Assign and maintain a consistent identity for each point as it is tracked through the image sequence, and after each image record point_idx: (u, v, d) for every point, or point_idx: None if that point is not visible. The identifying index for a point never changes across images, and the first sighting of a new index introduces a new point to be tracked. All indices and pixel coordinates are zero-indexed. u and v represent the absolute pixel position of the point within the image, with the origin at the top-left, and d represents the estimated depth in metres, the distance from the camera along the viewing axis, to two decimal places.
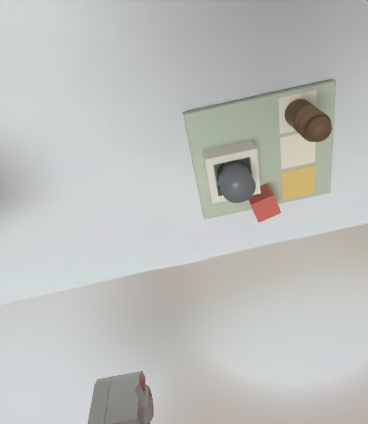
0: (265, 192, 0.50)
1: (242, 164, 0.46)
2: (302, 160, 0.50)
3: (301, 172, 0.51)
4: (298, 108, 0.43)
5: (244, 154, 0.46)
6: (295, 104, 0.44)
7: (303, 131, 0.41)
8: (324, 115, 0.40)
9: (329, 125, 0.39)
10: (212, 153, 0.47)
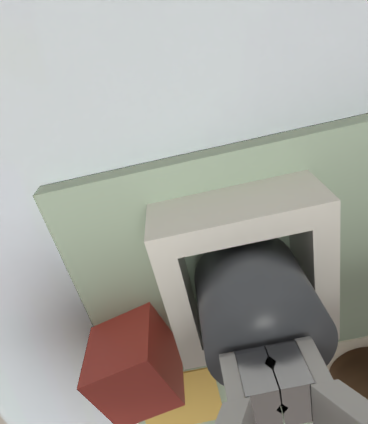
0: (175, 368, 0.17)
1: None
2: None
3: (208, 401, 0.21)
4: None
5: (329, 312, 0.14)
6: None
7: None
8: None
9: None
10: None
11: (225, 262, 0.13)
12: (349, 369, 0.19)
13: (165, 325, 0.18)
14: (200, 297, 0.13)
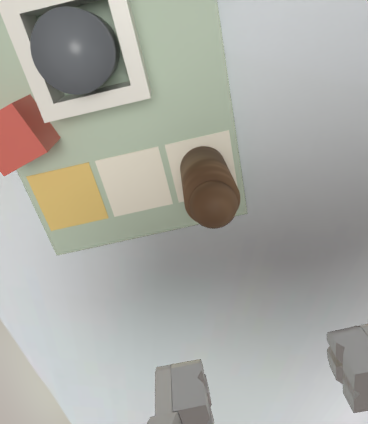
0: (45, 135, 0.23)
1: (115, 66, 0.22)
2: (115, 195, 0.28)
3: (91, 198, 0.28)
4: (226, 165, 0.24)
5: (136, 70, 0.21)
6: (223, 160, 0.26)
7: (206, 179, 0.21)
8: None
9: (227, 222, 0.21)
10: None
11: None
12: (187, 157, 0.26)
13: None
14: None
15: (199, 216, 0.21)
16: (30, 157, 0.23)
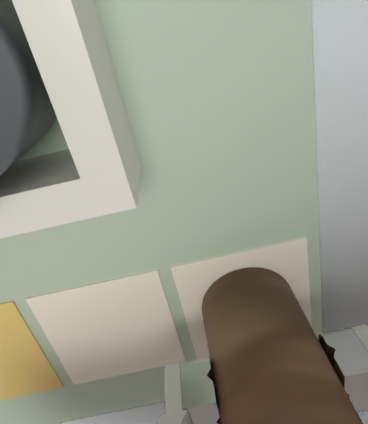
0: None
1: (44, 120, 0.08)
2: (73, 352, 0.14)
3: (26, 359, 0.14)
4: (315, 336, 0.11)
5: (93, 140, 0.07)
6: (299, 305, 0.12)
7: None
8: None
9: None
10: None
11: None
12: (220, 298, 0.12)
13: None
14: None
15: None
16: None
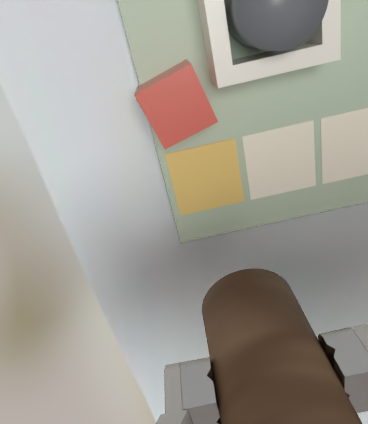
0: None
1: None
2: (257, 175, 0.25)
3: (230, 179, 0.25)
4: (316, 338, 0.11)
5: (332, 26, 0.18)
6: (299, 306, 0.12)
7: None
8: None
9: None
10: None
11: None
12: (220, 299, 0.12)
13: None
14: None
15: None
16: (198, 127, 0.20)
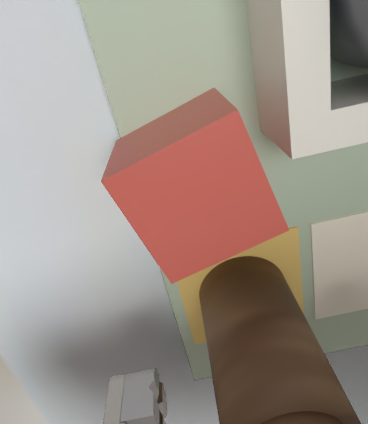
0: None
1: None
2: (330, 283, 0.14)
3: None
4: (305, 318, 0.11)
5: None
6: (291, 291, 0.13)
7: (286, 410, 0.08)
8: None
9: None
10: None
11: None
12: (216, 284, 0.13)
13: None
14: None
15: None
16: (245, 242, 0.09)
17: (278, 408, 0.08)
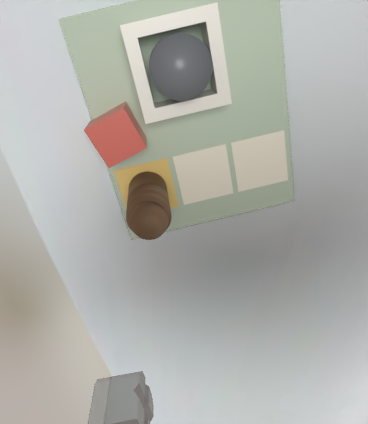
0: (141, 134, 0.28)
1: None
2: (186, 186, 0.33)
3: None
4: (163, 188, 0.30)
5: (223, 81, 0.26)
6: (163, 183, 0.31)
7: (143, 200, 0.27)
8: None
9: (159, 234, 0.26)
10: None
11: (161, 39, 0.25)
12: (133, 181, 0.31)
13: (135, 119, 0.30)
14: None
15: (136, 230, 0.26)
16: (132, 152, 0.28)
17: (140, 199, 0.27)
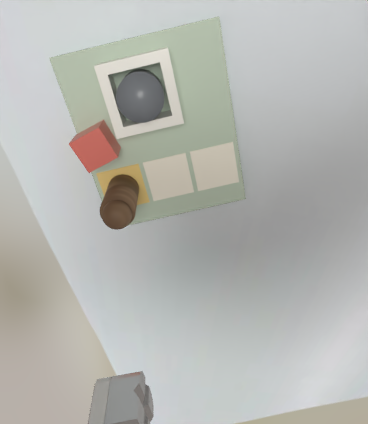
0: (114, 146, 0.36)
1: None
2: (155, 186, 0.41)
3: (139, 188, 0.41)
4: (133, 189, 0.38)
5: (176, 106, 0.34)
6: (134, 184, 0.39)
7: (112, 198, 0.35)
8: (132, 218, 0.36)
9: (124, 226, 0.34)
10: None
11: (127, 74, 0.33)
12: (110, 182, 0.39)
13: (111, 133, 0.37)
14: None
15: (106, 221, 0.34)
16: (106, 160, 0.35)
17: (110, 198, 0.35)
